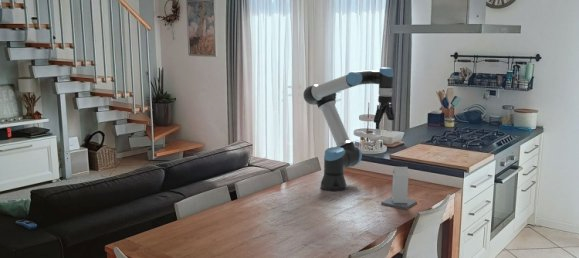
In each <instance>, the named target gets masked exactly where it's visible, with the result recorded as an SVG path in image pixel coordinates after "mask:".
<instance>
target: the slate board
mask: <svg viewBox="0 0 579 258" xmlns="http://www.w3.org/2000/svg"><path fill="white" fill-rule="evenodd" d="M417 203H418V200H413V199H409V198H407V203H394V202H393V200H392V196H391V197H389V198H387V199H385V200H383V201H381V205H382V206H387V207H391V208H396V209H401V210H404V211H405V210H407V209H409V208H411V207H413V206H415V205H416V204H417Z"/></svg>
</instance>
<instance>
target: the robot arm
mask: <svg viewBox="0 0 579 258" xmlns="http://www.w3.org/2000/svg"><path fill="white" fill-rule="evenodd" d="M393 83H394V68H392V67H380V68H379V70H371V69H364V70H354V71H350V72H348V73H347V74H345V75H342V76H340V77H337V78H335V79H332V80H329V81H326V82H323V83H321V84H314V85H310V86H307V87H306V88H305V89H304V91H303V99H304V101H305V102H306V103H307V104H309V105H313V106H315V105H316V106H317V108H318V109H319V110H320V111H322V114H323V116H324V119H325V121H326V123H327V126H328V128H329V131H330V134H331V135H332V138H333V140H334V142H335V145H336V146H334V147H333V146H331V147H328V148H326V149H325V150H324V155H323V160H324V161H323V176H322V179H321V182H320V189H322V190H325V191H329V192H330V191H331V192H339V191H344V190H346V189H347V182H346V177H345V169H347V168H350V167H355V166H358V165H359V163H361V161H362V159H363V153H362V150H361V148H360V147H359V146H357V145H355V143H354V141H352V140H350V137H349V135H348V132H347V131H346V128H345V126H344V124H343V122H342V119H341V117H340V114H339V111H338V110H337V109H338V108H337V107H336V103H337V101H336V100H337V93H339V92H342V91H344V90H347V89H351V88H354V87H356V86H361V85H373V84H374V85H378V96H377V97H378V99H377V101H378V103H380V104H377V105H376V111H375V115H374V118H373V123H375V133H374V134H375V135H378V136H381V130H382V129H381V126H382V123H381V121H382V119H383V117H384V115H385V114H386V117H387V120H386V132H390V133H391V132H392V129H393V128H392V127H393V121H394V120H395V114H394V108H393V92H394V91H393V90H394V89H393Z"/></svg>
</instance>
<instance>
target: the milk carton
mask: <svg viewBox="0 0 579 258" xmlns="http://www.w3.org/2000/svg"><path fill="white" fill-rule="evenodd" d="M408 170H409V167H408V166H394V167H393V170H392V183H391V189H392V190H391V197H392V200H393V202H394V203H407V199H408V192H409V191H408V190H409V171H408Z"/></svg>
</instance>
